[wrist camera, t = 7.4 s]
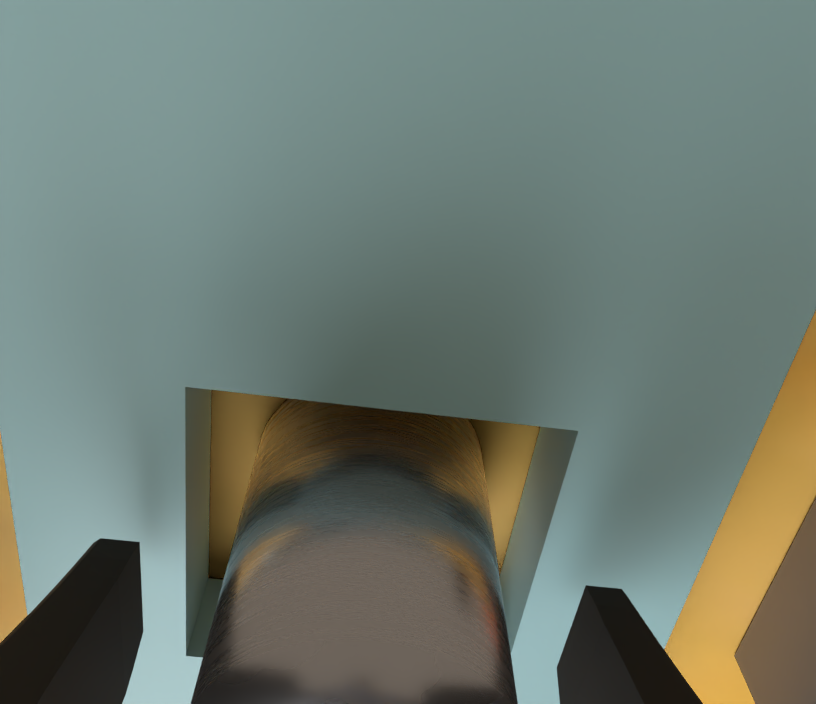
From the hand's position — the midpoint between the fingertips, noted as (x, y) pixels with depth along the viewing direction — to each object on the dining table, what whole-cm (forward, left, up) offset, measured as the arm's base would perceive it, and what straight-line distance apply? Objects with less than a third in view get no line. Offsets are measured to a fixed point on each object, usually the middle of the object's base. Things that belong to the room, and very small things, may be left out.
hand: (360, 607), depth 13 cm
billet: (0, 0, -3) cm, 3 cm away
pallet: (0, 0, -3) cm, 3 cm away
